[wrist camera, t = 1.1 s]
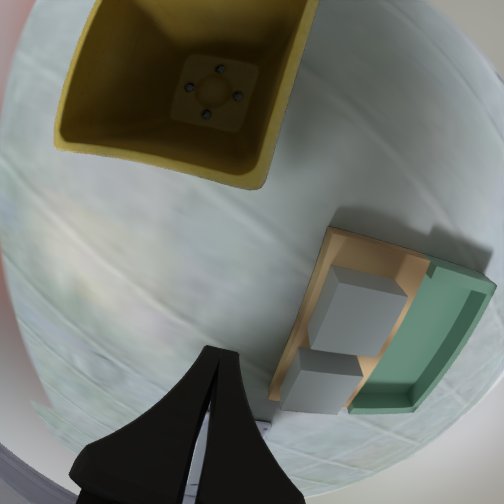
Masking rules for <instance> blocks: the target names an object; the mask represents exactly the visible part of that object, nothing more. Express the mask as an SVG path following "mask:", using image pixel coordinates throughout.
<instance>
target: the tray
mask: <svg viewBox="0 0 504 504" xmlns="http://www.w3.org/2000/svg"><path fill="white" fill-rule="evenodd" d="M422 254H423V253H422ZM423 255H424V256H425V257H426V258H428V259H429V260H430V261H431V262H430V264H429V266H428V269H427V271H426V273H425V276H424V278H423V280H422V282H421V285H420V287H419V289H418V291H417V293H416V295H415V297H414V299H413V302H412V304H411V306H410V308H409V309H408V311H407V313H406V315H405V317H404V319H403V321H402V323H401V325H400V327H399V328H398V330H397V332H396V334H395V335H394V337H393V339H392V341H391V342H390V344H389V346H388V348H387V349H386V351H385V353H384V354H383V356H382V357H381V359H380V361H379V362H378V364H377V365H376V367H375V368H374V370H373V371H372V373H371V375H370V376H369V378H368V379H367V380H366V382H365V383H364V385H363V386H362V388H361V389H360V391H359V392H358V393H357V395H356V396H355V397H354V399H353V400H352V402H351V403H350V404H349V406H348V407H347V409H348V413H349V414H396V413H411V412H414V411H415V410H416V409H417V408H418V407H419V406H420V405H421V404H422V402H423V401H424V400H425V399H426V398H427V396H428V395H429V394H430V393H431V392H432V390H433V389H434V388H435V387H436V385H437V384H438V383H439V381H440V380H441V379H442V377H443V376H444V375H445V373H446V372H447V371H448V369H449V368H450V367H451V365H452V364H453V362H454V361H455V359H456V358H457V356H458V355H459V353H460V352H461V350H462V349H463V347H464V346H465V344H466V343H467V341H468V339H469V338H470V336H471V335H472V333H473V331H474V329H475V328H476V326H477V324H478V323H479V321H480V319H481V317H482V315H483V313H484V312H485V310H486V308H487V306H488V304H489V302H490V300H491V298H492V296H493V294H494V292H495V290H496V287H497V285H496V284H495V283H494V282H492V281H491V280H490V279H489V278H487V277H486V276H485V275H484V274H482V273H480V272H477V271H474V270H471V269H468V268H465V267H462V266H459V265H456V264H453V263H450V262H447V261H444V260H441V259H438V258H435V257H432V256H429V255H426V254H423Z"/></svg>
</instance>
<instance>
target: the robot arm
mask: <svg viewBox="0 0 504 504" xmlns="http://www.w3.org/2000/svg"><path fill="white" fill-rule="evenodd" d="M221 350H222V351H221ZM220 355H221V356H220ZM213 387H214V388H213ZM211 396H212V397H211ZM210 401H211V403H210ZM209 404H210V412H207V410H208V407H209ZM270 428H271V424H270V423H268V422H261V421H255V420H254V417H253V415H252V412H251V409H250V406H249V404H248V400H247V397H246V393H245V390H244V386H243V382H242V377H241V371H240V364H239V354H238V352H235V351H230V350H226V349H222V348H217V347H213V346H209V345H206V346H204V348H203V350H202V351H201V353H200V355H199V356H198V358H197V359H196V361H195V362H194V364H193V365H192V366H191V368H190V369H189V370H188V371H187V373H186V374H185V375H184V376H183V377H182V379H181V380H180V381H179V382H178V383H177V384H176V385H175V386H174V387H173V388H172V389H171V390H170V391H169V392H168V393H167V394H166V395H165V396H164V397H163V398H162V399H161V400H160V401H159V402H157V403H156V404H155V405H154V406H153V407H151V408H150V409H149V410H147V411H146V412H145V413H144V414H142V415H141V416H139V417H138V418H137V419H135V420H134V421H132V422H131V423H129V424H127V425H126V426H124V427H122V428H121V429H119V430H117V431H115V432H114V433H112V434H110V435H108V436H106V437H104V438H101V439H99V440H97V441H95V442H93V443H90V444H88V445H86V446H85V447H84V449H83V450H82V451H81V452H80V454H79V455H78V456H77V458H76V459H75V461H74V463H73V466H72V468H71V470H70V472H69V476H70V478H71V479H72V480H73V481H74V482H75V483H76V484H77V485H78V486H79V487H80V488H81V491H80V494H79V496H78V495H76V494H74V493H72V492H71V491H69V490H67V489H65V488H63V487H62V486H60V485H58V484H57V483H55V482H53V481H52V480H50V479H49V478H47V477H45V476H44V475H42V474H41V473H39V472H38V471H36V470H35V469H34V468H32V467H31V466H29V465H28V464H26V463H25V462H24V461H22V460H21V459H20V458H18V457H17V456H16V455H15V454H13V453H12V452H11V451H10V450H8V449H7V448H6V447H5V446H3V445H2V444H1V443H0V504H306V503H305V499H304V496H303V494H302V493H301V492H300V491H299V490H298V489H297V487H296V486H295V485H294V484H293V483H292V482H291V480H290V479H289V478H288V477H287V475H286V474H285V473H284V471H283V470H282V468H281V467H280V466H279V464H278V463H277V461H276V460H275V458H274V456H273V455H272V453H271V451H270V450H269V448H268V447H267V445H266V443H265V441H264V438H265V437H266V435H267V433H268V432H269V430H270ZM195 446H196V449H195ZM194 449H195V454H194V458H193V462H192V457H193V453H194ZM191 462H192V467H191V471H190V466H191ZM189 471H190V475H189ZM188 475H189V480H188ZM187 480H188V484H187ZM186 484H187V485H186Z"/></svg>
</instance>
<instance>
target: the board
mask: <svg viewBox="0 0 504 504" xmlns="http://www.w3.org/2000/svg"><path fill="white" fill-rule="evenodd" d="M430 262H431V261H430V260H429V259H428V258H426V257H425V256H424V255H423V254H422V253H420V252H416V251H413V250H410V249H407V248H403V247H400V246H397V245H393V244H390V243H387V242H383V241H380V240H376V239H373V238H369V237H366V236H362V235H359V234H355V233H352V232H348V231H344V230H341V229H337V228H333V227H329V226H328V227H327V231H326V234H325V237H324V240H323V243H322V247H321V250H320V253H319V256H318V259H317V262H316V265H315V268H314V271H313V274H312V277H311V280H310V282H309V285H308V288H307V291H306V294H305V297H304V299H303V302H302V305H301V308H300V310H299V313H298V316H297V318H296V321H295V324H294V326H293V329H292V332H291V334H290V337H289V339H288V342H287V344H286V347H285V349H284V352H283V354H282V357H281V359H280V362H279V364H278V367H277V369H276V371H275V374H274V376H273V378H272V381H271V383H270V386H269V397H268V400H273V401H280V387H281V384H282V382H283V380H284V378H285V376H286V374H287V372H288V369H289V367H290V365H291V363H292V360H293V358H294V356H295V354H296V351H297V349H298V347H302V348H309V349H311V347H310V341H309V335H308V330H307V325H308V323H309V320H310V318H311V315H312V313H313V310H314V308H315V305H316V303H317V300H318V297H319V295H320V292H321V289H322V287H323V284H324V281H325V279H326V276H327V273H328V270H329V267H330V265H336V266H340V267H344V268H348V269H353V270H357V271H361V272H365V273H370V274H374V275H378V276H382V277H386V278H391V279H394V280H395V281H396V282H397V283H398V285H399V286H400V287H401V288H402V289H403V291H404V292H405V293H406V294H407V296H408V297H409V298H408V300H407V302H406V304H405V306H404V308H403V310H402V312H401V314H400V316H399V318H398V320H397V322H396V323H395V325H394V327H393V329H392V331H391V333H390V334H389V336H388V338H387V340H386V341H385V343H384V345H383V347H382V348H381V350H380V352H379V353H378V355H377V357H368V356H358V355H357V358H358V361H359V364H360V367H361V370H362V373H363V376H364V377H363V379H362V380H361V382H360V383H359V384H358V386H357V387H356V389H355V390H354V392H353V393H352V395H351V396H350V397H349V399H348V400H347V402H346V403H345V404H344V406H343V407H348V406H349V404H350V403H351V402H352V400H353V399H354V397H355V396H356V395H357V393H358V392H359V391H360V389H361V388H362V386H363V385H364V383H365V382H366V380H367V379H368V378H369V376H370V375H371V373H372V371H373V370H374V368H375V367H376V365H377V364H378V362H379V361H380V359H381V357H382V356H383V354H384V353H385V351H386V349H387V348H388V346H389V344H390V342H391V341H392V339H393V337H394V335H395V334H396V332H397V330H398V328H399V327H400V325H401V323H402V321H403V319H404V317H405V315H406V313H407V311H408V309H409V308H410V306H411V304H412V302H413V299H414V297H415V295H416V293H417V291H418V289H419V287H420V285H421V282H422V280H423V278H424V276H425V273H426V271H427V269H428V266H429V264H430Z"/></svg>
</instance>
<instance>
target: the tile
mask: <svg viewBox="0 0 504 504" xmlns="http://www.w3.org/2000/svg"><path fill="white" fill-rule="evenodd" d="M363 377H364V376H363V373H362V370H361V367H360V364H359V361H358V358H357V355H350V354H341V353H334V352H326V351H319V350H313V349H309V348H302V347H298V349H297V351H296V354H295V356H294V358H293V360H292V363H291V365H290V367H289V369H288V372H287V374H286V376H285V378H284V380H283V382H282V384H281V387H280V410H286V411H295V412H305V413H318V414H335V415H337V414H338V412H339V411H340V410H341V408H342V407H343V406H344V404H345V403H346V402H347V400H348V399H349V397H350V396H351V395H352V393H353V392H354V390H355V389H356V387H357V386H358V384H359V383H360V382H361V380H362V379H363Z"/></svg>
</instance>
